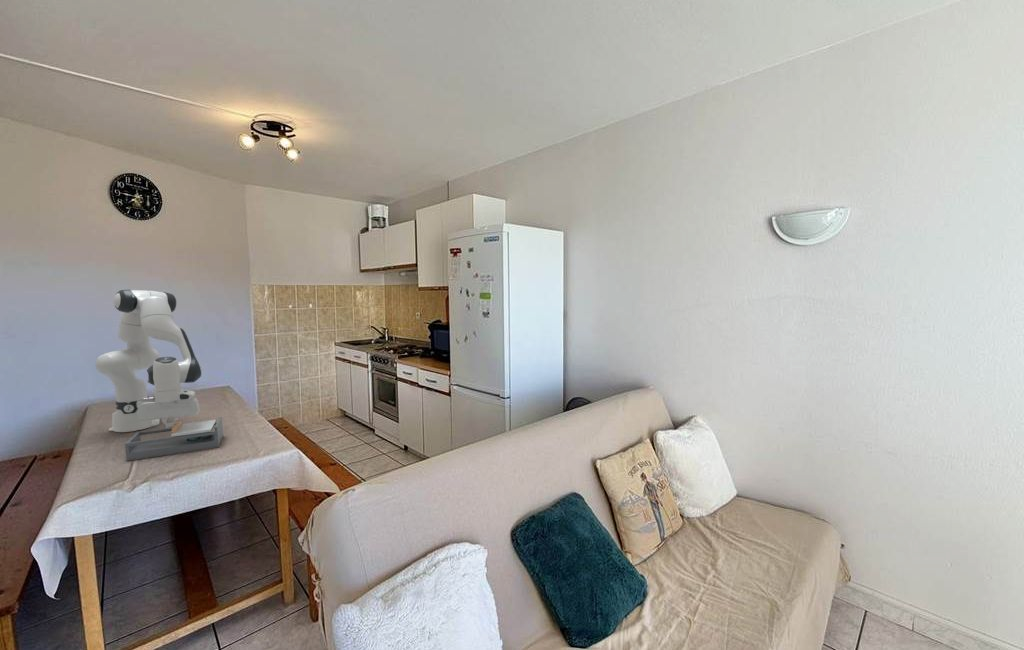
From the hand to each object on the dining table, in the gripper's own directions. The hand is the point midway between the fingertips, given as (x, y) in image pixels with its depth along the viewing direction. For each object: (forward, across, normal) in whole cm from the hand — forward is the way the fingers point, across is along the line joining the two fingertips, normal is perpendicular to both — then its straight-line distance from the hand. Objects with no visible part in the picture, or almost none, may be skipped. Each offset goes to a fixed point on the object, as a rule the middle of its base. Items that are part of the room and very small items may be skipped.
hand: (170, 427), depth 175 cm
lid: (+2, +8, 0) cm, 8 cm away
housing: (+9, +2, 0) cm, 9 cm away
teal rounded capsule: (+9, +8, 0) cm, 12 cm away
